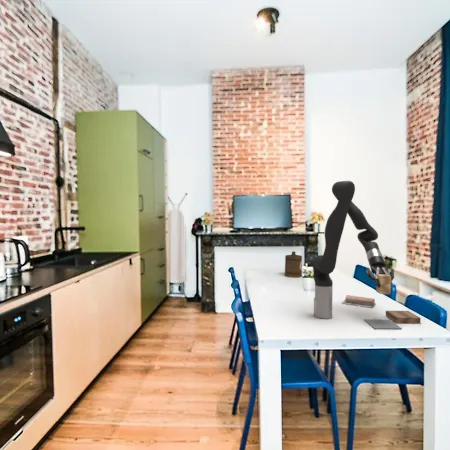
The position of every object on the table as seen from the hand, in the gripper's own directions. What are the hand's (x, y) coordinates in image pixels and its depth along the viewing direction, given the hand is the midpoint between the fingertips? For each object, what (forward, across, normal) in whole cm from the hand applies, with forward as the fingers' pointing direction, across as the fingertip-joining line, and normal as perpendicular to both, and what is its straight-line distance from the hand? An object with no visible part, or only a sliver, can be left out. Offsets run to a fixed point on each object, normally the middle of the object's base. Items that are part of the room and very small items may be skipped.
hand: (385, 286), depth 164 cm
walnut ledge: (+7, +14, +20) cm, 26 cm away
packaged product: (-13, +2, +42) cm, 44 cm away
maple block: (+1, 0, +4) cm, 4 cm away
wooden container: (-77, -23, +105) cm, 132 cm away
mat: (+13, 0, +15) cm, 20 cm away
